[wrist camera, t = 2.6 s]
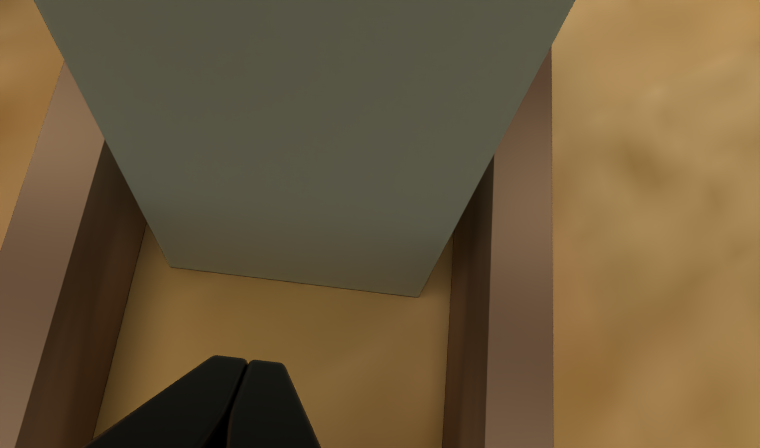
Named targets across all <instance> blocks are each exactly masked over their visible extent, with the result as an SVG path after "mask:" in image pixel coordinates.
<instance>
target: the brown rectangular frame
mask: <svg viewBox="0 0 760 448" xmlns="http://www.w3.org/2000/svg"><path fill="white" fill-rule="evenodd" d="M145 225H146V219H145V217H144V215H143V213H142V211H141V209H140V207H139V205H138V203H137V201H136V199H135V197H134V195H133V193H132V191H131V189H130V188H129V186H128V184H127V182H126V180H125V178H124V176H123V174H122V172H121V170H120V168H119V166H118V164H117V162H116V160H115V158H114V156H113V154H112V152H111V150H110V148H109V146H108V144H107V142H106V141H105V139H104V137H103V135H102V133H101V131H100V129H99V127H98V125H97V123H96V121H95V119H94V117H93V115H92V113H91V111H90V109H89V107H88V105H87V103H86V101H85V99H84V97H83V95H82V94H81V92H80V90H79V88H78V86H77V84H76V82H75V80H74V78H73V76H72V74H71V72H70V70H69V68H68V66H67V64H66V62H65V60H64V63H63V66H62V69H61V72H60V75H59V78H58V81H57V84H56V87H55V90H54V93H53V96H52V99H51V102H50V105H49V108H48V111H47V114H46V117H45V120H44V123H43V125H42V128H41V131H40V134H39V137H38V140H37V143H36V146H35V149H34V152H33V155H32V158H31V161H30V164H29V167H28V170H27V173H26V176H25V179H24V182H23V185H22V188H21V191H20V194H19V197H18V200H17V203H16V206H15V209H14V212H13V215H12V218H11V221H10V224H9V227H8V230H7V233H6V236H5V239H4V242H3V245H2V248H1V251H0V448H82V447H83V446H85V445H86V444H87V443H89V442H90V441H92V437H93V433H94V429H95V425H96V421H97V417H98V413H99V409H100V405H101V401H102V397H103V393H104V389H105V385H106V381H107V377H108V373H109V369H110V365H111V361H112V357H113V353H114V349H115V345H116V341H117V337H118V333H119V329H120V325H121V321H122V317H123V313H124V309H125V305H126V301H127V297H128V293H129V289H130V285H131V281H132V277H133V273H134V269H135V265H136V261H137V257H138V253H139V249H140V245H141V241H142V237H143V233H144V229H145ZM442 448H554V439H553V250H552V61H551V47H550V49H549V51H548V53H547V55H546V57H545V58H544V60H543V62H542V64H541V66H540V68H539V70H538V72H537V74H536V76H535V77H534V79H533V81H532V83H531V85H530V87H529V89H528V91H527V93H526V94H525V96H524V98H523V100H522V102H521V104H520V106H519V108H518V110H517V111H516V113H515V115H514V117H513V119H512V121H511V123H510V125H509V127H508V128H507V130H506V132H505V134H504V136H503V138H502V140H501V142H500V144H499V145H498V147H497V149H496V151H495V153H494V155H493V157H492V159H491V161H490V162H489V164H488V166H487V168H486V170H485V172H484V174H483V176H482V178H481V179H480V181H479V183H478V185H477V187H476V189H475V191H474V193H473V195H472V196H471V198H470V200H469V202H468V204H467V206H466V208H465V210H464V212H463V213H462V215H461V217H460V219H459V221H458V223H457V225H456V227H455V229H454V246H453V263H452V281H451V299H450V317H449V335H448V353H447V371H446V388H445V406H444V424H443V442H442Z"/></svg>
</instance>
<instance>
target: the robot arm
mask: <svg viewBox="0 0 760 448" xmlns="http://www.w3.org/2000/svg"><path fill="white" fill-rule="evenodd" d="M82 448H321V446H320V444H319V442H318V440H317V437H316V435H315V433H314V431H313V428H312V426H311V424H310V421H309V419H308V417H307V415H306V412H305V410H304V408H303V406H302V403H301V401H300V399H299V397H298V394H297V392H296V390H295V388H294V385H293V383H292V381H291V378H290V376H289V374H288V372H287V369H286V367H285V366H284V365H283V364H282V363H278V362H269V361H261V360H252V361H250V362H249V364H248V363H247V361H246V360H245V359H242V358H235V357H227V356H218V355H215V356H212V357H210V358H209V359H207V360H206V361H204V362H203V363H202V364H200V365H199V366H197V367H196V368H194V369H193V370H192V371H190V372H189V373H187V374H186V375H184V376H183V377H182V378H180V379H179V380H177V381H176V382H174V383H173V384H172V385H170V386H169V387H167V388H166V389H164V390H163V391H162V392H160V393H159V394H157V395H156V396H155V397H153V398H152V399H150V400H149V401H147V402H146V403H145V404H143V405H142V406H140V407H139V408H137V409H136V410H135V411H133V412H132V413H130V414H129V415H127V416H126V417H125V418H123V419H122V420H120V421H119V422H117V423H116V424H115V425H113V426H112V427H110V428H109V429H107V430H106V431H105V432H103V433H102V434H100V435H99V436H97V437H96V438H95V439H93V440H92V441H90V442H89V443H87V444H86V445H85V446H83V447H82Z"/></svg>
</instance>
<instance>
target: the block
mask: <svg viewBox="0 0 760 448" xmlns="http://www.w3.org/2000/svg"><path fill="white" fill-rule="evenodd" d="M34 2H35V3H36V5H37V7H38V9H39V11H40V13H41V15H42V17H43V19H44V21H45V23H46V25H47V27H48V29H49V31H50V33H51V35H52V37H53V39H54V41H55V43H56V45H57V47H58V49H59V50H60V52H61V54H62V56H63V58H64V60H65V62H66V64H67V66H68V68H69V70H70V72H71V74H72V76H73V78H74V80H75V82H76V84H77V86H78V88H79V90H80V92H81V94H82V95H83V97H84V99H85V101H86V103H87V105H88V107H89V109H90V111H91V113H92V115H93V117H94V119H95V121H96V123H97V125H98V127H99V129H100V131H101V133H102V135H103V137H104V139H105V141H106V142H107V144H108V146H109V148H110V150H111V152H112V154H113V156H114V158H115V160H116V162H117V164H118V166H119V168H120V170H121V172H122V174H123V176H124V178H125V180H126V182H127V184H128V186H129V188H130V189H131V191H132V193H133V195H134V197H135V199H136V201H137V203H138V205H139V207H140V209H141V211H142V213H143V215H144V217H145V219H146V221H147V223H148V225H149V227H150V229H151V231H152V233H153V234H154V236H155V238H156V240H157V242H158V244H159V246H160V248H161V250H162V252H163V254H164V256H165V258H166V260H167V262H168V264H169V266H170V267H175V268H183V269H192V270H200V271H208V272H216V273H224V274H232V275H240V276H248V277H256V278H265V279H273V280H281V281H289V282H297V283H305V284H313V285H321V286H329V287H338V288H346V289H354V290H362V291H370V292H378V293H386V294H394V295H403V296H411V297H419V295H420V293H421V291H422V289H423V287H424V285H425V283H426V282H427V280H428V278H429V276H430V274H431V272H432V270H433V268H434V266H435V265H436V263H437V261H438V259H439V257H440V255H441V253H442V251H443V249H444V247H445V246H446V244H447V242H448V240H449V238H450V236H451V234H452V232H453V230H454V229H455V227H456V225H457V223H458V221H459V219H460V217H461V215H462V213H463V212H464V210H465V208H466V206H467V204H468V202H469V200H470V198H471V196H472V195H473V193H474V191H475V189H476V187H477V185H478V183H479V181H480V179H481V178H482V176H483V174H484V172H485V170H486V168H487V166H488V164H489V162H490V161H491V159H492V157H493V155H494V153H495V151H496V149H497V147H498V145H499V144H500V142H501V140H502V138H503V136H504V134H505V132H506V130H507V128H508V127H509V125H510V123H511V121H512V119H513V117H514V115H515V113H516V111H517V110H518V108H519V106H520V104H521V102H522V100H523V98H524V96H525V94H526V93H527V91H528V89H529V87H530V85H531V83H532V81H533V79H534V77H535V76H536V74H537V72H538V70H539V68H540V66H541V64H542V62H543V60H544V58H545V57H546V55H547V53H548V51H549V49H550V47H551V45H552V43H553V41H554V40H555V38H556V36H557V34H558V32H559V30H560V28H561V26H562V24H563V23H564V21H565V19H566V17H567V15H568V13H569V11H570V9H571V7H572V6H573V4H574V2H575V0H34Z"/></svg>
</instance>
